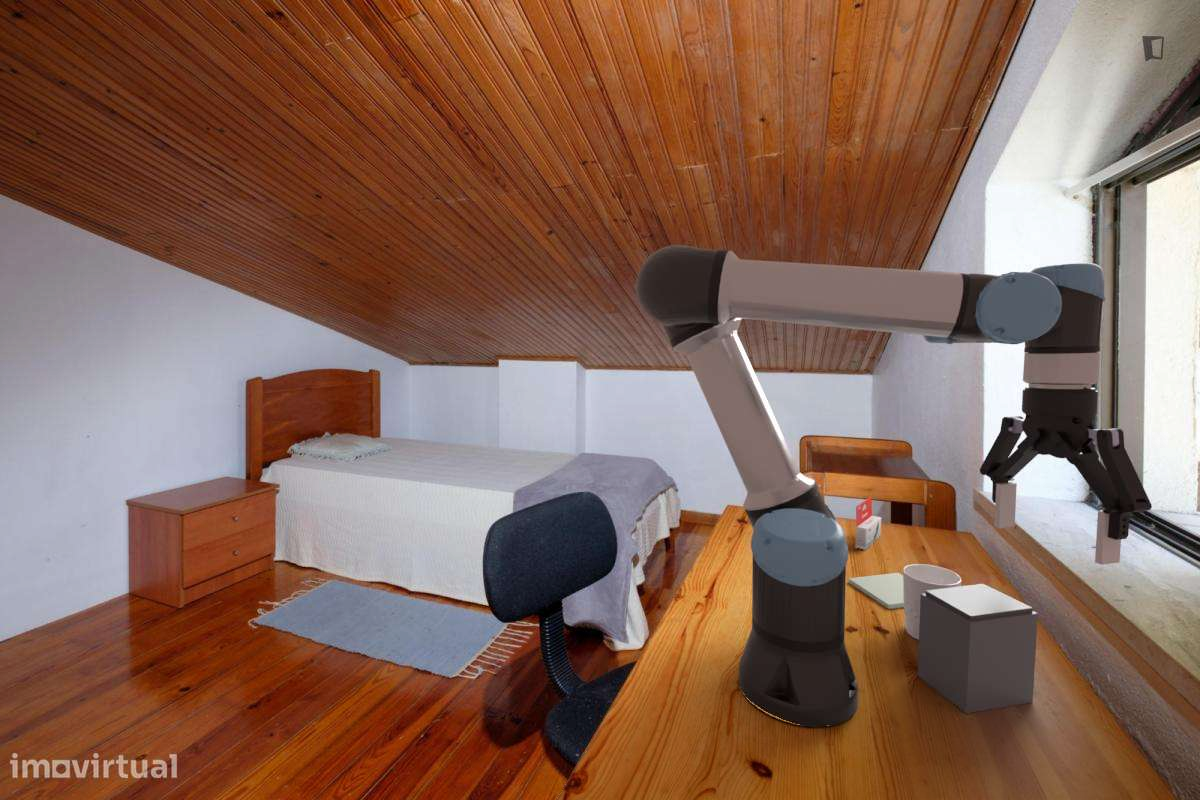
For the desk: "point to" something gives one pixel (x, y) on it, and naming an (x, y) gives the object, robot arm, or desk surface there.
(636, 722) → the desk surface
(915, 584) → the white cup
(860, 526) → the ink cartridge box
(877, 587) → the coaster
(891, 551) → the desk surface
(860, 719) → the desk surface
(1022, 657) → the block
